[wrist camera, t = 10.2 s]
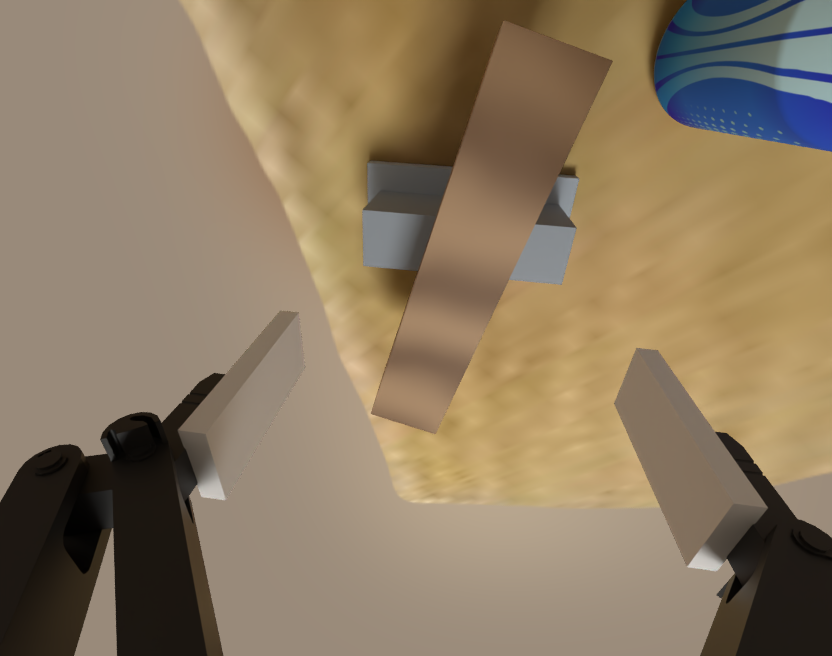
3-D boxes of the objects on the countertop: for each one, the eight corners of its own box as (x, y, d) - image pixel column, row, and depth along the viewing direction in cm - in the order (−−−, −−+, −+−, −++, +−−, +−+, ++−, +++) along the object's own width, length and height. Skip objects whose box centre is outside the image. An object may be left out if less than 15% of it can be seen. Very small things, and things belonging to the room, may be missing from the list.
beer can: (817, -39, 24) (1291, -214, 10) (764, 122, 28) (1046, 154, 14) (662, -22, 25) (897, -157, 11) (634, 130, 29) (779, 167, 15)
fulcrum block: (370, 160, 32) (346, 177, 26) (575, 175, 31) (601, 197, 25) (371, 255, 36) (350, 289, 30) (552, 272, 35) (569, 311, 29)
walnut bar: (497, 33, 21) (503, 20, 17) (585, 66, 22) (612, 61, 17) (383, 372, 34) (370, 413, 29) (440, 390, 34) (435, 434, 30)
